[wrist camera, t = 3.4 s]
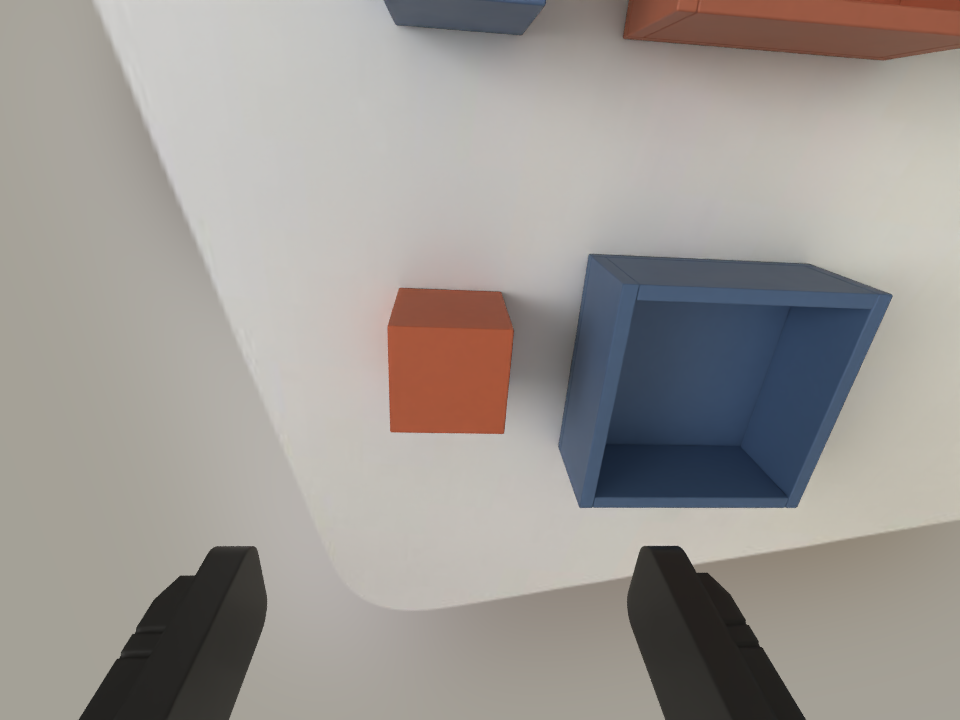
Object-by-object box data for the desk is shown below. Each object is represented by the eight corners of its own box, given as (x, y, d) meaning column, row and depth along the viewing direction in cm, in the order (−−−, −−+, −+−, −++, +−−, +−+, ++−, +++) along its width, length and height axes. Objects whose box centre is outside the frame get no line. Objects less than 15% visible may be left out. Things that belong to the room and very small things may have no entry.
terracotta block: (400, 378, 23) (390, 432, 19) (399, 287, 21) (387, 325, 17) (494, 381, 23) (504, 434, 19) (501, 291, 21) (514, 329, 17)
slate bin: (557, 446, 25) (579, 508, 21) (588, 253, 21) (623, 283, 17) (742, 449, 26) (797, 508, 22) (810, 263, 21) (894, 294, 17)
